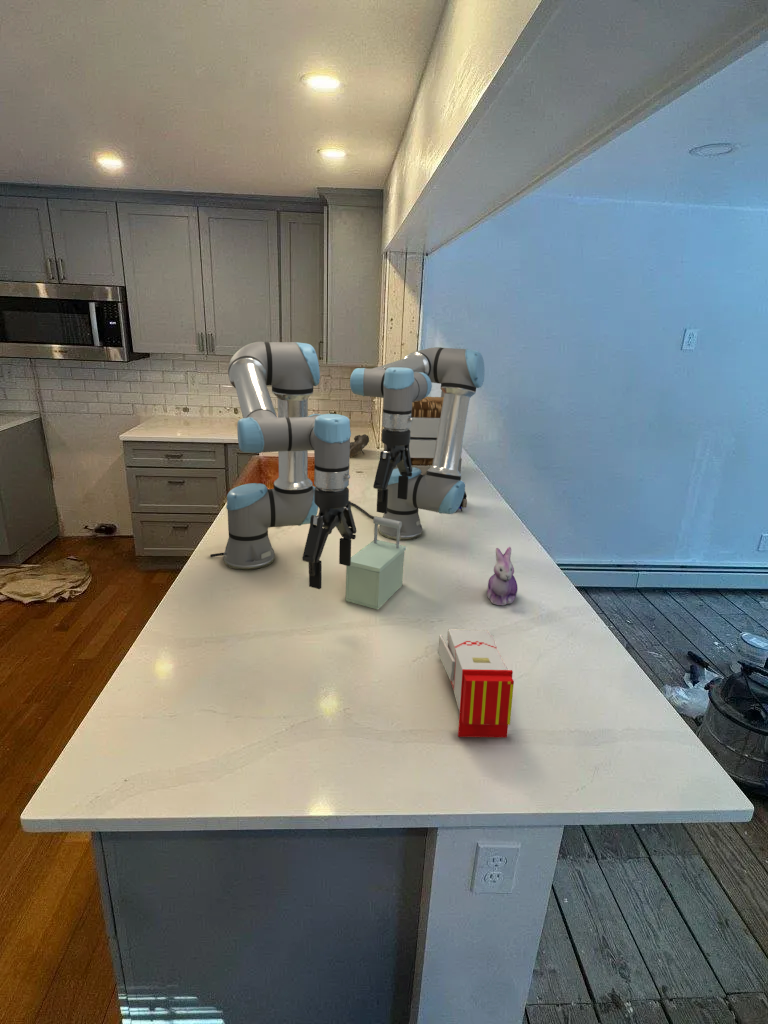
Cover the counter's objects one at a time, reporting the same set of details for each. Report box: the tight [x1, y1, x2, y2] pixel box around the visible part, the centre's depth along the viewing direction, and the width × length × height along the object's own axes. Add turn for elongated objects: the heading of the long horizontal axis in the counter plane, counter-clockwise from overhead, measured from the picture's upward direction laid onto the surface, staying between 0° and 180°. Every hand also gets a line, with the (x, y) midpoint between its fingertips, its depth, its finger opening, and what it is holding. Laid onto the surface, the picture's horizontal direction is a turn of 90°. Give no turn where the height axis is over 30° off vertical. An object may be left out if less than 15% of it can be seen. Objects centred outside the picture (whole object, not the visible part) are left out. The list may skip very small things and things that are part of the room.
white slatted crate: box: [383, 390, 464, 475], centre depth 268 cm, size 34×33×41 cm
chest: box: [345, 551, 405, 610], centre depth 156 cm, size 16×10×11 cm, turn 155°
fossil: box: [350, 433, 370, 458], centre depth 304 cm, size 22×10×15 cm
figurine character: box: [457, 491, 468, 512], centre depth 228 cm, size 7×8×15 cm
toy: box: [437, 628, 515, 738], centre depth 117 cm, size 12×13×30 cm
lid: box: [350, 515, 407, 573], centre depth 153 cm, size 17×10×9 cm, turn 155°
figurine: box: [486, 546, 518, 606], centre depth 155 cm, size 9×10×15 cm
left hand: (330, 575), depth 130 cm, fingers open, 13 cm apart
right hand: (392, 505), depth 155 cm, fingers open, 13 cm apart
